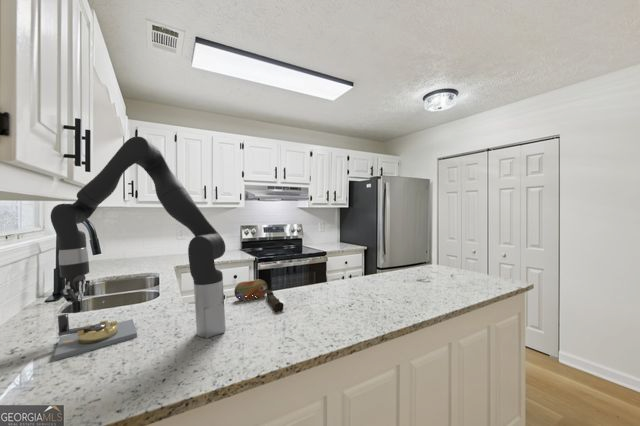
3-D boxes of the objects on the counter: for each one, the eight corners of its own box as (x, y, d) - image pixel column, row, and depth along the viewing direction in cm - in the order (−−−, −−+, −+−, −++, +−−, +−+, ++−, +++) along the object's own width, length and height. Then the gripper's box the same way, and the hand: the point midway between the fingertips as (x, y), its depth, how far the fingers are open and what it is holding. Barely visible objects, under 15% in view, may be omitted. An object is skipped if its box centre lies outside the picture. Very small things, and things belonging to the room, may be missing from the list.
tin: (235, 302, 121) (234, 283, 121) (234, 300, 124) (233, 282, 124) (268, 296, 127) (267, 278, 127) (267, 294, 130) (266, 277, 130)
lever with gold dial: (122, 327, 96) (120, 303, 95) (109, 340, 86) (108, 313, 86) (69, 335, 91) (67, 310, 91) (50, 350, 82) (48, 322, 81)
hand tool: (284, 311, 108) (283, 300, 108) (274, 313, 106) (273, 301, 106) (274, 298, 125) (273, 288, 125) (265, 299, 124) (264, 289, 124)
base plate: (137, 337, 91) (136, 332, 91) (54, 360, 78) (53, 355, 78) (132, 322, 103) (132, 318, 103) (60, 341, 91) (60, 336, 91)
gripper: (75, 263, 88) (79, 316, 88) (97, 257, 100) (100, 303, 101) (47, 266, 86) (51, 320, 86) (72, 259, 98) (76, 306, 99)
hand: (77, 311), depth 93 cm, fingers closed
